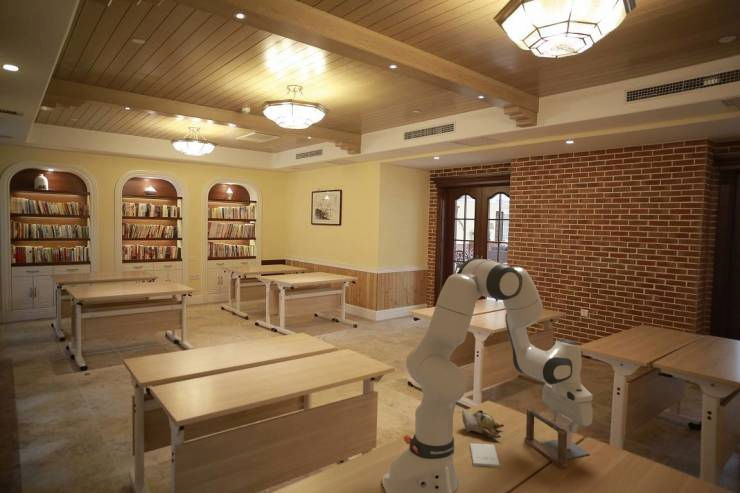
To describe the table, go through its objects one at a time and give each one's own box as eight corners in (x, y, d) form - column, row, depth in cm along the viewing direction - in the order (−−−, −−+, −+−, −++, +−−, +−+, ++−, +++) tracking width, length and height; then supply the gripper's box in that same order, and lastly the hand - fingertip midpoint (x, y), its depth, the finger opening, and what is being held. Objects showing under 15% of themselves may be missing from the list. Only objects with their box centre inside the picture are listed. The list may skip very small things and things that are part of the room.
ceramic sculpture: (465, 400, 172) (505, 409, 167) (463, 422, 173) (503, 431, 168) (459, 412, 163) (502, 422, 157) (457, 435, 163) (500, 445, 158)
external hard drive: (494, 449, 155) (499, 469, 142) (469, 447, 156) (473, 467, 144) (494, 444, 155) (499, 464, 142) (470, 443, 156) (473, 462, 143)
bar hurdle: (559, 468, 142) (560, 432, 141) (524, 440, 159) (525, 408, 158) (567, 466, 143) (568, 431, 142) (531, 439, 160) (532, 407, 159)
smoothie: (552, 447, 153) (553, 407, 152) (557, 439, 158) (558, 401, 157) (572, 453, 149) (573, 412, 148) (576, 445, 154) (578, 405, 153)
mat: (562, 460, 146) (562, 458, 146) (540, 444, 157) (540, 442, 157) (589, 455, 150) (589, 453, 150) (566, 439, 160) (566, 437, 160)
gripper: (538, 377, 161) (537, 415, 162) (580, 399, 141) (579, 442, 142) (552, 375, 163) (551, 412, 164) (596, 397, 143) (595, 439, 144)
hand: (564, 426), depth 153 cm, fingers closed on smoothie, 6 cm apart
